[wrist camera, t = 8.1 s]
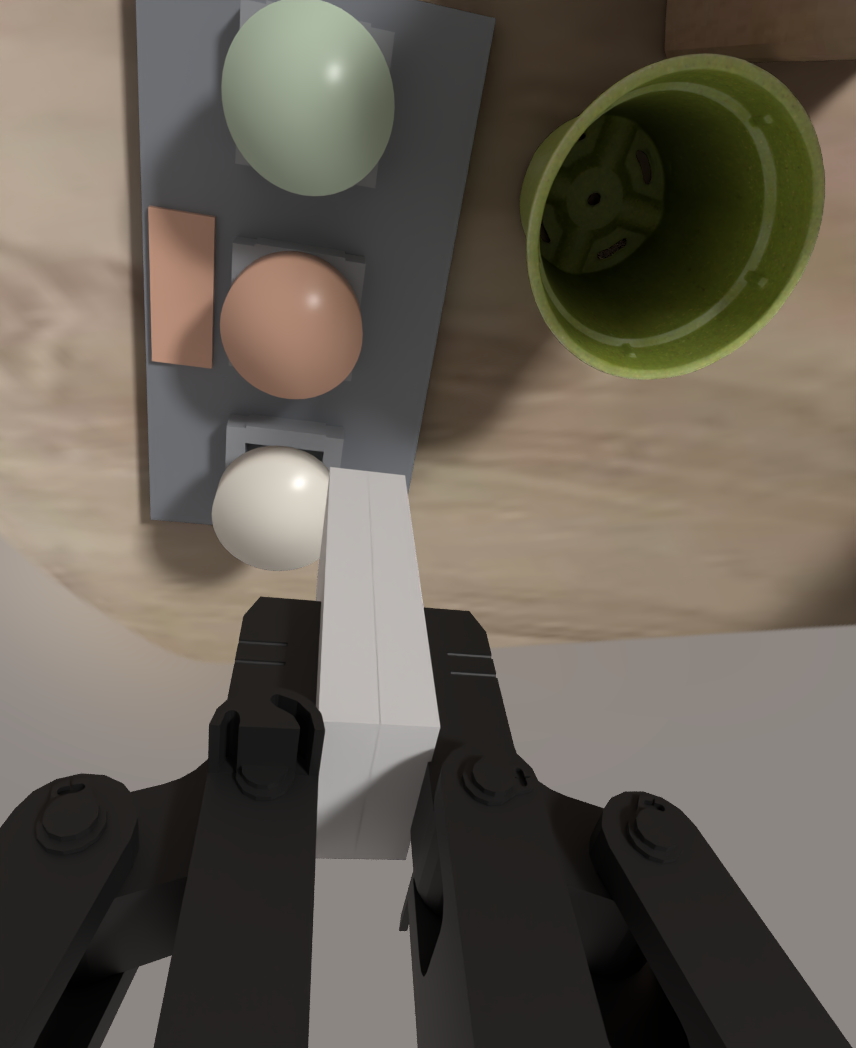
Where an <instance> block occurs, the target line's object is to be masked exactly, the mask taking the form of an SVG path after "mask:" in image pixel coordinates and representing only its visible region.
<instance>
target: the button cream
mask: <svg viewBox="0 0 856 1048" xmlns="http://www.w3.org/2000/svg"><path fill="white" fill-rule="evenodd" d="M329 473H330V470H329V469H328V468H327V467H326V466H325V465H324V464H323V463H322V462H321V461H320V460H318V459H317V458H316V457H314V456H313V455H311V454H309V453H307V452H305V451H302V450H300V449H296V448H293V447H288V446H276V445H275V446H264V447H259V448H256V449H253V450H250V451H248V452H246V453H244V454H242V455H241V456H239V457H237V458H236V459H235V460H234V461H233V462H231V464H230V465H229V466H228V467H227V468H226V470H225V471H224V473H223V475H222V477H221V479H220V482H219V485H218V489H217V492H216V495H215V499H214V503H213V506H212V523H213V527H214V530H215V533H216V535H217V537H218V539H219V541H220V542H221V543H222V545H223V546H224V547H225V548H226V549H227V550H228V552H229V553H231V554H232V555H233V556H234V557H236V558H237V559H239V560H240V561H242V562H244V563H246V564H248V565H250V566H253V567H256V568H260V569H264V570H271V571H287V570H294V569H298V568H301V567H305V566H307V565H309V564H311V563H313V562H315V561H317V560H318V559H319V558H320V550H321V542H322V533H323V524H324V516H325V507H326V499H327V490H328V482H329Z"/></svg>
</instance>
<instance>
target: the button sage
mask: <svg viewBox="0 0 856 1048" xmlns="http://www.w3.org/2000/svg"><path fill="white" fill-rule="evenodd" d="M221 89H222V103H223V110H224V115H225V118H226V122H227V126H228V128H229V131H230V133H231V136H232V138H233V140H234V142H235V144H236V146H237V147H238V149H239V151H240V152H241V154H242V155H243V157H244V158H245V159H246V160H247V162H248V163H249V164H250V165H251V166H252V167H253V168H254V169H255V170H256V171H257V172H258V173H259V174H260V175H261V176H262V177H264V178H265V179H266V180H268V181H269V182H271V183H272V184H274V185H276V186H278V187H280V188H281V189H284V190H286V191H289V192H292V193H296V194H300V195H306V196H325V195H331V194H335V193H338V192H341V191H344V190H346V189H348V188H350V187H352V186H354V185H355V184H356V183H358V182H359V181H361V180H362V179H363V178H364V177H365V176H366V175H367V174H369V173H370V171H371V170H372V169H373V168H374V167H375V165H376V164H377V163H378V161H379V159H380V158H381V156H382V155H383V153H384V150H385V148H386V146H387V144H388V141H389V138H390V135H391V131H392V126H393V121H394V109H395V105H394V90H393V84H392V79H391V75H390V72H389V68H388V66H387V63H386V61H385V58H384V56H383V54H382V52H381V50H380V48H379V46H378V45H377V43H376V42H375V40H374V39H373V37H372V36H371V34H370V33H369V32H368V31H367V30H366V29H365V28H364V26H363V25H362V24H361V23H360V22H358V21H357V20H356V19H355V18H354V17H353V16H352V15H350V14H349V13H347V12H346V11H344V10H342V9H341V8H339V7H337V6H335V5H333V4H331V3H328V2H325V1H321V0H280V1H277V2H274V3H272V4H269V5H268V6H266V7H264V8H262V9H260V10H259V11H258V12H256V13H255V14H254V15H253V16H251V17H250V18H249V19H248V20H247V21H246V22H245V24H244V25H243V26H242V27H241V28H240V30H239V31H238V33H237V34H236V36H235V37H234V39H233V41H232V43H231V45H230V47H229V50H228V53H227V56H226V59H225V63H224V68H223V72H222V84H221Z"/></svg>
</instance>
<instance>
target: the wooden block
mask: <svg viewBox="0 0 856 1048" xmlns="http://www.w3.org/2000/svg"><path fill="white" fill-rule="evenodd" d="M664 51H665V54H666V59H669V58H673V57H677V56H683V55H690V54H703V53H707V54H720V55H727V56H732V57H736V58H739V59H743V60H746V61H748V62H750V63H753V62H786V61H820V60H854V59H856V0H667V8H666V29H665V50H664Z"/></svg>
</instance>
